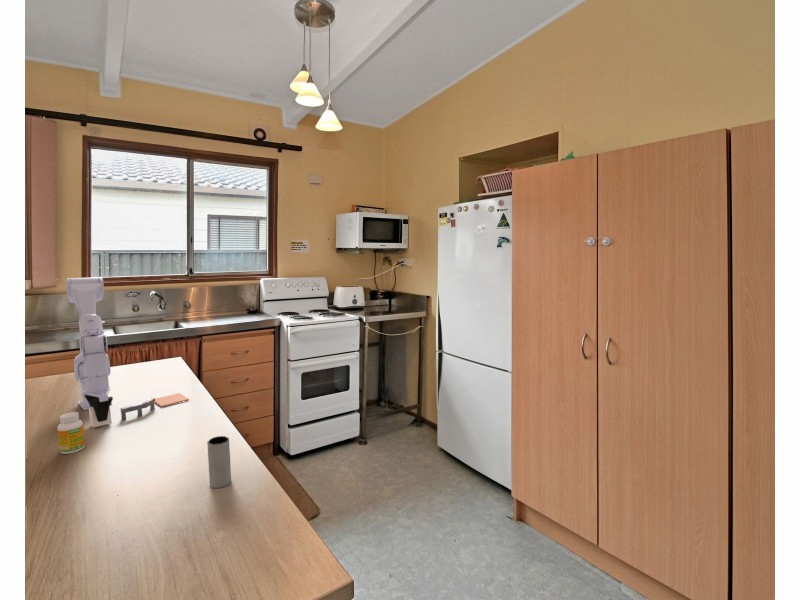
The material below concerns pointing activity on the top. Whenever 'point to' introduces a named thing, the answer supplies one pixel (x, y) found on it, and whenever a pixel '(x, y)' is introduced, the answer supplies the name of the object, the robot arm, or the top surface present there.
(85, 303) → the robot arm
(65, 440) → the supplement bottle
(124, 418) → the bent rail
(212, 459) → the grey tube
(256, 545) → the top surface
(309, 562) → the top surface
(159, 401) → the terracotta tile
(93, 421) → the cream block
